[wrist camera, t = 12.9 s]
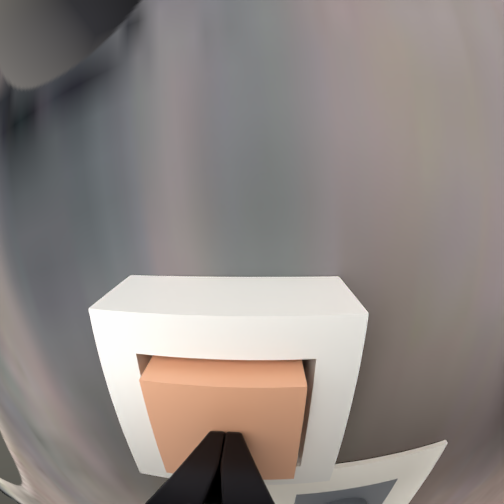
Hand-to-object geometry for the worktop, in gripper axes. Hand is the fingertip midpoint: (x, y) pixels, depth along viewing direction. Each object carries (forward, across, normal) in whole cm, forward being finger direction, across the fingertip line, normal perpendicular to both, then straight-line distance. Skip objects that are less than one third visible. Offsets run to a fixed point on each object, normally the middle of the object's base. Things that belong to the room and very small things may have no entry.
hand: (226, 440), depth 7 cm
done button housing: (+4, 0, 0) cm, 4 cm away
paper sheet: (+4, -5, +12) cm, 13 cm away
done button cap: (+3, 0, 0) cm, 3 cm away
